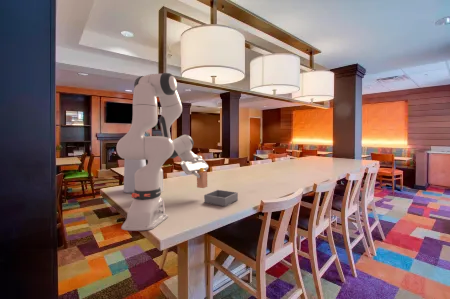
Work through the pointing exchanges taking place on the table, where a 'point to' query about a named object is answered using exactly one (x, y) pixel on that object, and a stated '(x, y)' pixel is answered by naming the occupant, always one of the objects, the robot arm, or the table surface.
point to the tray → (221, 197)
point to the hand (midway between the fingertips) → (202, 176)
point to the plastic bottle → (131, 173)
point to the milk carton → (161, 180)
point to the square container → (202, 179)
